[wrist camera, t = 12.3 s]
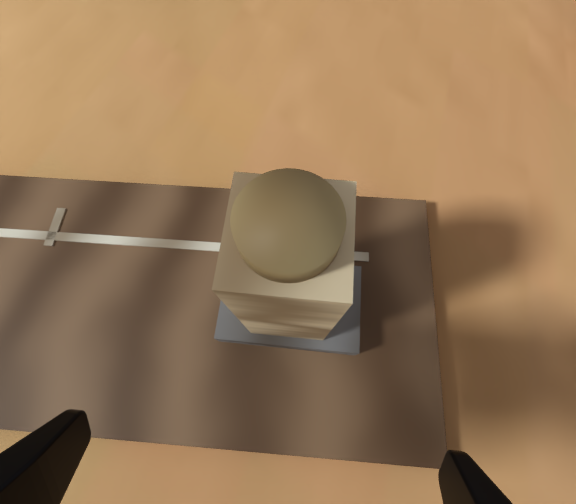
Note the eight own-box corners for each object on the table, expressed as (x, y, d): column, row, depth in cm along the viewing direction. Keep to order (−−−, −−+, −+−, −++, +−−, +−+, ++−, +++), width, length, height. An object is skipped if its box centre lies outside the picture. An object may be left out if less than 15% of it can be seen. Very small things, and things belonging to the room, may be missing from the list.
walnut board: (420, 207, 24) (426, 199, 23) (440, 464, 18) (449, 470, 17) (-31, 180, 25) (-45, 171, 24) (-147, 412, 19) (-171, 414, 18)
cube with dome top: (356, 273, 21) (430, 153, 10) (354, 355, 19) (441, 323, 8) (233, 262, 21) (167, 133, 10) (219, 341, 20) (121, 291, 8)
